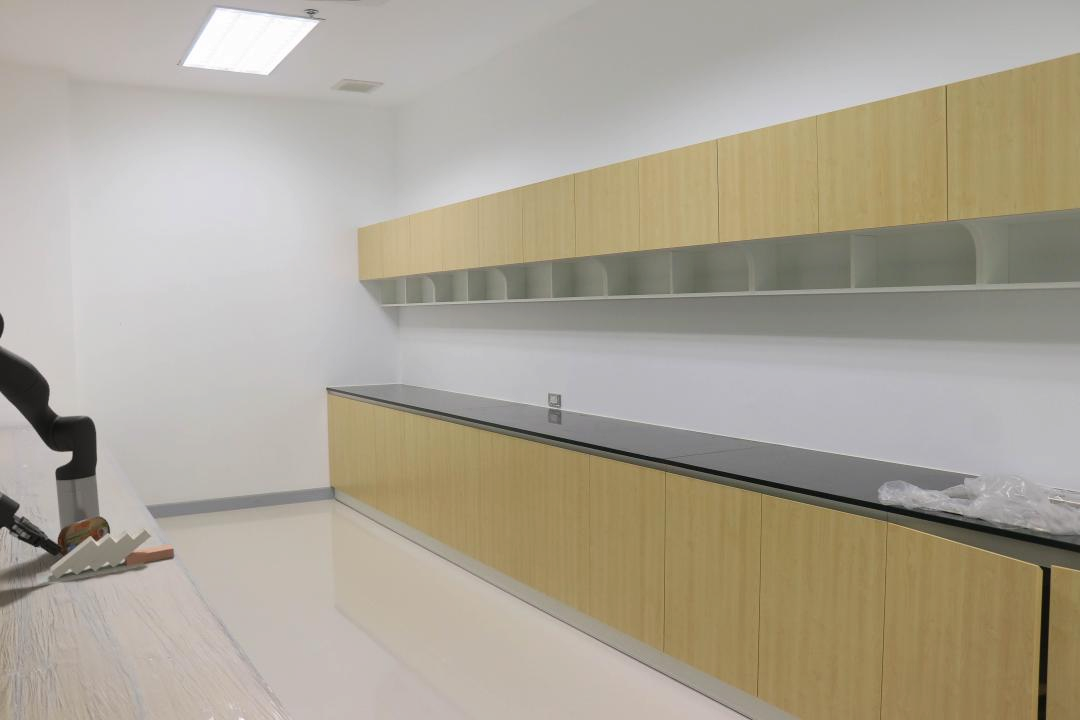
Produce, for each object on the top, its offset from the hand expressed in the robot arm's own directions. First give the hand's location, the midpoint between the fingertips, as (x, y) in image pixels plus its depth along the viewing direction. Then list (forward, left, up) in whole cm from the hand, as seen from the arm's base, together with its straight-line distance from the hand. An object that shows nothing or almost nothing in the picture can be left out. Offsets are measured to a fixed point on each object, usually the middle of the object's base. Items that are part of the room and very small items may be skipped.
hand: (59, 551), depth 184 cm
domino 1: (0, -1, -4) cm, 5 cm away
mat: (0, +6, -6) cm, 8 cm away
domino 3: (0, +6, -4) cm, 7 cm away
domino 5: (0, +13, -4) cm, 14 cm away
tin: (-20, +6, -6) cm, 22 cm away
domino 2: (0, +2, -4) cm, 5 cm away
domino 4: (0, +10, -4) cm, 11 cm away
